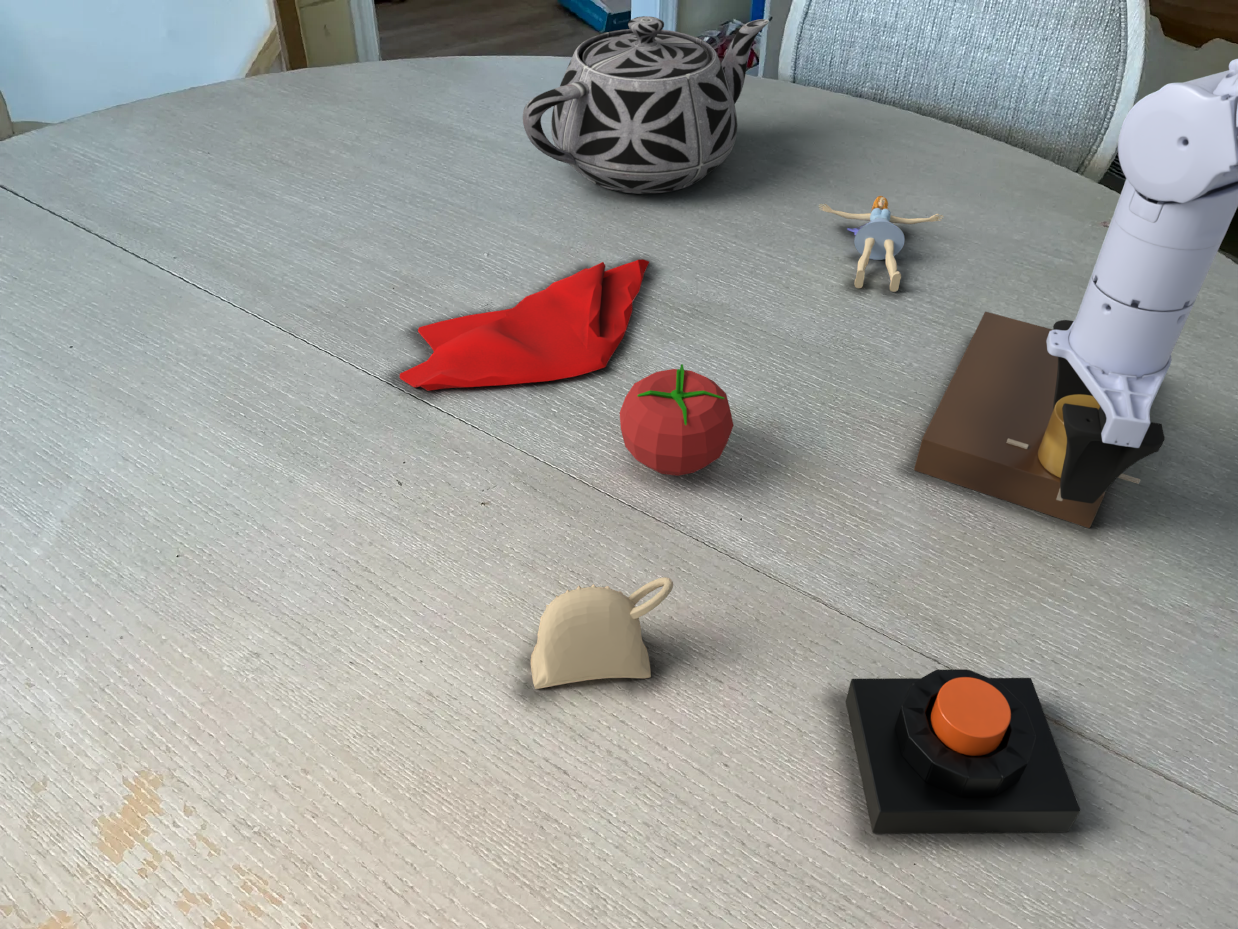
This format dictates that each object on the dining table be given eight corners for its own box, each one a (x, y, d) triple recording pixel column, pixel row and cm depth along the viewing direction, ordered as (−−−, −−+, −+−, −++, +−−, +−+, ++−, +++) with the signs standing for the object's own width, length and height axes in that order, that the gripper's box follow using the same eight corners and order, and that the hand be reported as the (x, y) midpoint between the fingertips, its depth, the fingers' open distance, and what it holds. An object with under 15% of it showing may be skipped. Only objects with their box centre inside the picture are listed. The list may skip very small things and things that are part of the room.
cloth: (446, 434, 75) (442, 410, 73) (370, 343, 83) (366, 320, 81) (723, 323, 85) (725, 300, 84) (632, 253, 94) (632, 231, 92)
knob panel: (1154, 391, 79) (1169, 358, 77) (1113, 555, 66) (1130, 521, 64) (976, 341, 84) (985, 309, 81) (906, 485, 71) (915, 451, 68)
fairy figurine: (815, 251, 87) (822, 174, 95) (808, 294, 91) (815, 217, 99) (952, 264, 86) (947, 185, 94) (939, 308, 89) (936, 228, 97)
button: (991, 696, 53) (999, 676, 52) (1011, 756, 51) (1020, 736, 50) (923, 696, 53) (930, 676, 52) (939, 756, 51) (947, 737, 49)
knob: (1035, 435, 70) (1053, 385, 67) (1102, 445, 69) (1124, 395, 66) (1039, 477, 67) (1058, 427, 64) (1109, 488, 66) (1132, 438, 63)
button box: (1020, 700, 57) (1040, 657, 55) (1068, 833, 51) (1093, 791, 49) (845, 701, 57) (856, 658, 55) (872, 834, 51) (886, 793, 49)
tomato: (734, 429, 75) (743, 345, 70) (724, 502, 69) (733, 415, 64) (628, 417, 76) (629, 333, 71) (609, 488, 70) (609, 402, 65)
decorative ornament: (529, 633, 61) (524, 574, 57) (667, 623, 61) (670, 564, 58) (531, 689, 58) (526, 630, 54) (676, 678, 58) (680, 619, 55)
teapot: (817, 157, 109) (837, 12, 99) (586, 244, 95) (582, 85, 85) (701, 100, 120) (710, -36, 110) (480, 170, 106) (466, 22, 96)
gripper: (1062, 217, 65) (1007, 385, 74) (1081, 345, 54) (1014, 523, 63) (1180, 231, 63) (1109, 401, 73) (1222, 364, 53) (1133, 543, 62)
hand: (1072, 459), depth 68 cm, fingers open, 7 cm apart
